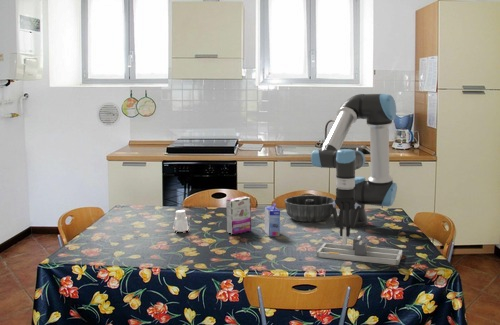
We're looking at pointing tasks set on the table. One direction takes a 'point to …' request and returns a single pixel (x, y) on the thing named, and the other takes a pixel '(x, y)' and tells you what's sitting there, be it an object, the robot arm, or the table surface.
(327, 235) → the table surface
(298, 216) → the bundt pan
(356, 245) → the tab
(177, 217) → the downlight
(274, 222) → the ink cartridge box
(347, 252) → the tray
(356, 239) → the tab
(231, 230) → the candy bar box
